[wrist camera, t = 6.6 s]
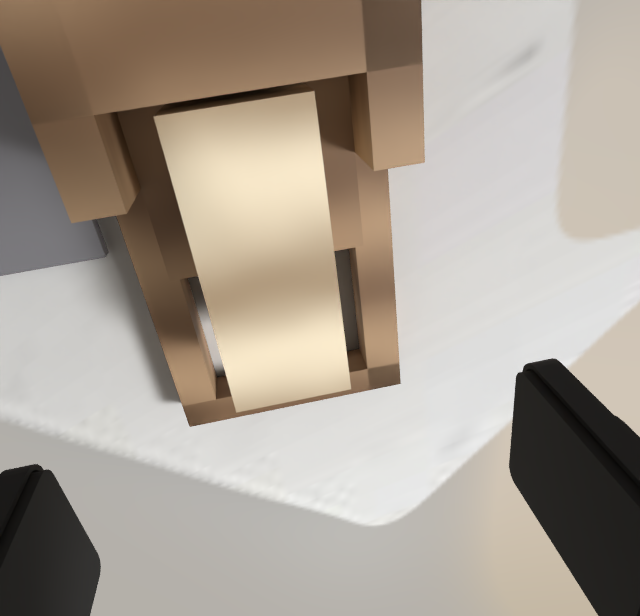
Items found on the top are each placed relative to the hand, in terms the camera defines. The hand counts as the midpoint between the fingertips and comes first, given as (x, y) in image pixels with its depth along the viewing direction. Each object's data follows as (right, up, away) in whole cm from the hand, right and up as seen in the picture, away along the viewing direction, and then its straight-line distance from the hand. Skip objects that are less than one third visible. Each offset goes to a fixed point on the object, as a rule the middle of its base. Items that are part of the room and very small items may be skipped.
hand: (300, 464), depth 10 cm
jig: (-3, +8, +14) cm, 17 cm away
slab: (-2, +6, +11) cm, 13 cm away
